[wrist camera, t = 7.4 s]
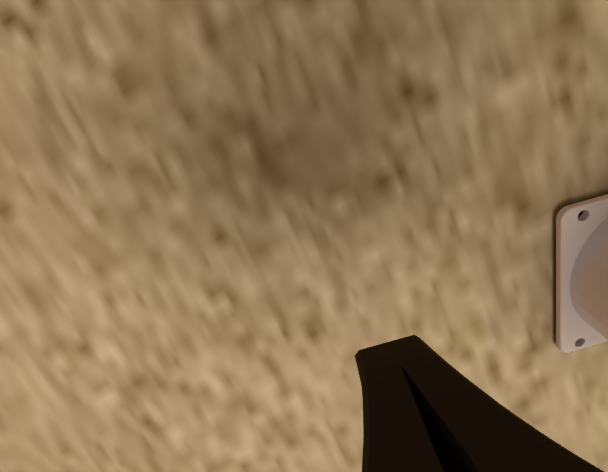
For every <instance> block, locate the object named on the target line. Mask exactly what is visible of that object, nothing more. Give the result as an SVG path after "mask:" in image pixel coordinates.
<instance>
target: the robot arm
mask: <svg viewBox="0 0 608 472" xmlns="http://www.w3.org/2000/svg"><path fill="white" fill-rule="evenodd" d="M581 211H583V212H582V214H581V216H580V217H578V214H579V213H580V212H581ZM607 341H608V194H606V195H603V196H599V197H596V198H592V199H588V200H585V201H581V202H578V203H574V204H571V205H567V206H565V207H563V208H562V209H561V210H560V211H559V212H558V214H557V217H556V345H557V347H558V348H559V349H560V350H561V351H562V352H564V353H569V352H573V351H577V350H580V349H583V348H587V347H590V346H594V345H597V344H601V343H604V342H607ZM355 359H356V363H357V367H358V371H359V376H360V380H361V384H362V395H363V423H364V443H363V462H362V472H604V471H602V470H600V469H599V468H597V467H595V466H594V465H592V464H590V463H589V462H587V461H585V460H584V459H582V458H580V457H579V456H577V455H575V454H574V453H572V452H570V451H569V450H567V449H566V448H564V447H562V446H561V445H559V444H558V443H556V442H555V441H553V440H552V439H550V438H548V437H547V436H545V435H544V434H542V433H541V432H539V431H538V430H536V429H535V428H534V427H532V426H531V425H529V424H528V423H526V422H525V421H523V420H522V419H520V418H519V417H517V416H516V415H515V414H513V413H512V412H510V411H509V410H508V409H506V408H505V407H503V406H502V405H501V404H499V403H498V402H497V401H495V400H494V399H493V398H491V397H490V396H489V395H487V394H486V393H485V392H484V391H482V390H481V389H480V388H478V387H477V386H476V385H474V384H473V383H472V382H470V381H469V380H468V379H467V378H465V377H464V376H463V375H462V374H460V373H459V372H458V371H457V370H456V369H454V368H453V367H452V366H451V365H450V364H448V363H447V362H446V361H445V360H444V359H443V358H441V357H440V356H439V355H438V354H437V353H436V352H435V351H433V350H432V349H431V348H430V347H429V346H428V345H427V344H426V343H425V342H423V341H422V340H421V339H420V338H419V337H417V336H415V335H412V336H408V337H405V338H401V339H398V340H394V341H391V342H387V343H383V344H380V345H376V346H373V347H369V348H365V349H362V350H359V351H358V352H357V354H356V355H355Z"/></svg>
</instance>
